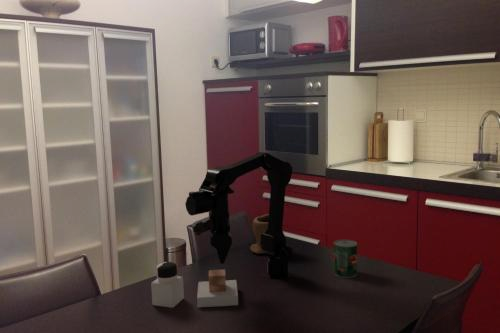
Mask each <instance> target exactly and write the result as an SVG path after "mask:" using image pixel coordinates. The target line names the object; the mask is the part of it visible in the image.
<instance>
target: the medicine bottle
mask: <svg viewBox="0 0 500 333" xmlns="http://www.w3.org/2000/svg"><path fill="white" fill-rule="evenodd" d="M155 270H156V279H155V280H153V281H152V282H151V283H150V284H151V285H150V287H151V303H152V306H155V307H156V306H157V307H162V308H163V307H164V308H170V309H173V308H175V306H177V305H178V304H180V302H182V300H184V299H185V292H184V276H180V275H178V265H177V263H175V262H171V261H164V262H161V263H158V264H157V265H156V269H155Z"/></svg>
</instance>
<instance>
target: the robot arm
mask: <svg viewBox="0 0 500 333" xmlns="http://www.w3.org/2000/svg"><path fill="white" fill-rule="evenodd" d="M260 168H261V169H263V170H264V171H266V178H267V181H268V183H269V185H270V193H269V208H268V214H269V219H268V229H267V230H266V232H265V233H262V234H261V242H260V245H261V249H262V250H263V251H264V253H263V255H264V256H265V257H268V260H267V261H266V266H267V267H266V268H267V275H268V276H269V278H270V279H283V278H286V279H287V278H289V277H290V275H289V261H290V260H292V259H293V252H292V250H290V249H289V248H288V246H287V238H286V236H285V233H284V231H283V223H284V212H285V200H286V188H287V187H288V185H289V183H290V182H291V181H292V180H291V179H292V174H293V166H292V165H291V164H290V162H288V161H284V160H281V159H279V158H277V157H275V156H273V155H272V154H271V153H269V152H263V151H259V152H256V153H255V154H253V155H250V156H248V157H246V158H244V159H241V160H239V161H237V162H234V163H232V164H229V165H221V166H220V165H219V166H215V167H211V168H209V169H207V171H206V174H205V178H204V179H203V181H202V183H201V184H200V186H199V189H198V191H197V190H196V191H189V192H188V196H187V198H186V200H185V208H186V209H185V210H186V212H187V213H188V215H190V216H197V215H200V214H206V213H209V214H208V215H209V216H207V217H204V218H201V219H199V220H196V221H194V222H193V223H192V225H191V227H192V230H193V232H194V234H195V236H197V237H198V236H200V235H201V234H203V233H206V232H208V231H209V232H210V233H211V234H210V241H209V242H210V246H211V247H213V248H214V249H216V252H217V255H218V260H219V263H220V264H221V265H222V264H225V262H226V259H227V257H228V254H229V251H230V248H231V246H232V244H233V239H232V236H233V235H232V233H231V224H230V222H231V221H230V207H229V206H230V205H229V204H230V203H229V195H230V194H235V190H233V188H231V185H233V184H234V183H235V182H236V180H237V179H238V178H240V177H242V176H244V175H246V174H248V173H251V172H253V171H255V170H258V169H260Z"/></svg>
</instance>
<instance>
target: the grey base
mask: <svg viewBox="0 0 500 333" xmlns="http://www.w3.org/2000/svg"><path fill="white" fill-rule="evenodd" d="M225 280H226V291H222V292H209V280H208V281H207V280H206V281H198V285H197V294H196V295H197V296H196V299H197V300H196V302H197V305H196V306H197V308H209V307H212V308H213V307H227V306H228V307H229V306H239V294H238V284H237V279H232V280H231V279H229V280H227V279H225Z"/></svg>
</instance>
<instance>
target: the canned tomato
mask: <svg viewBox="0 0 500 333" xmlns="http://www.w3.org/2000/svg"><path fill="white" fill-rule="evenodd" d="M333 274H334V276H336V277H338V278H342V279H343V278H344V279H350V278H355V277H357V276H358V242H357V241H355V240H352V239H337V240H335V241H333Z"/></svg>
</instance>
